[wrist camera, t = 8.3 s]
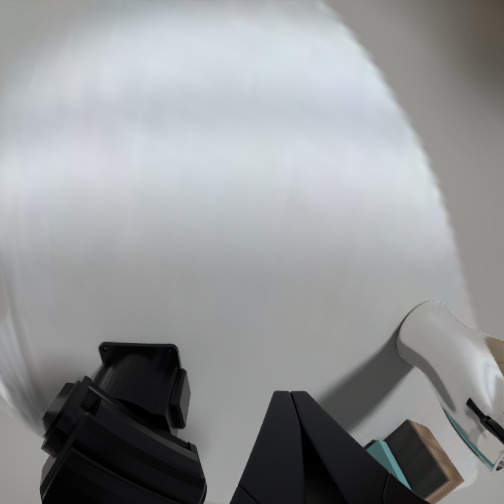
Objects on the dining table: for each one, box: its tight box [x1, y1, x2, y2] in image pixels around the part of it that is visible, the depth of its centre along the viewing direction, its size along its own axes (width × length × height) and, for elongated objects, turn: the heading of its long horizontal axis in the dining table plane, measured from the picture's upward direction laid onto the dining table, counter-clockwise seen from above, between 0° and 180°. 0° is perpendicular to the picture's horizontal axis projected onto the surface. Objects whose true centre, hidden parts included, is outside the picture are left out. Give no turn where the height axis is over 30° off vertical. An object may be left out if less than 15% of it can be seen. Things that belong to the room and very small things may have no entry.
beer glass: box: [396, 300, 504, 475], centre depth 15 cm, size 7×7×15 cm
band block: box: [384, 419, 464, 504], centre depth 22 cm, size 6×16×10 cm, turn 144°
